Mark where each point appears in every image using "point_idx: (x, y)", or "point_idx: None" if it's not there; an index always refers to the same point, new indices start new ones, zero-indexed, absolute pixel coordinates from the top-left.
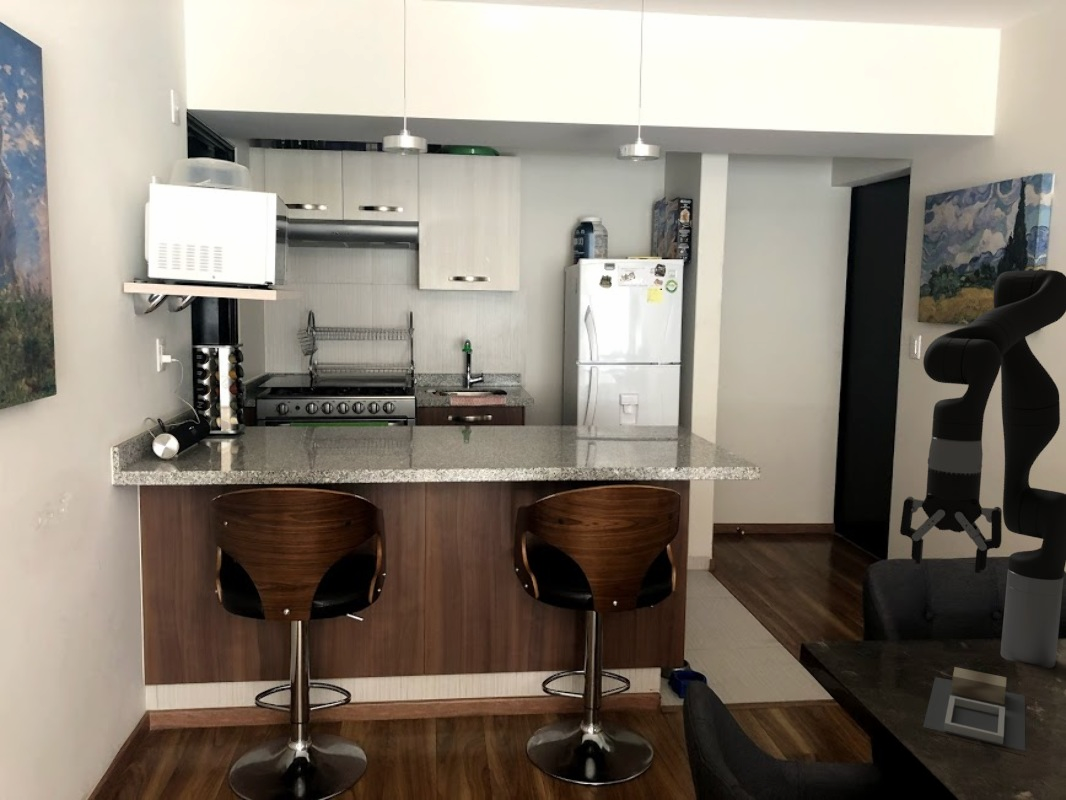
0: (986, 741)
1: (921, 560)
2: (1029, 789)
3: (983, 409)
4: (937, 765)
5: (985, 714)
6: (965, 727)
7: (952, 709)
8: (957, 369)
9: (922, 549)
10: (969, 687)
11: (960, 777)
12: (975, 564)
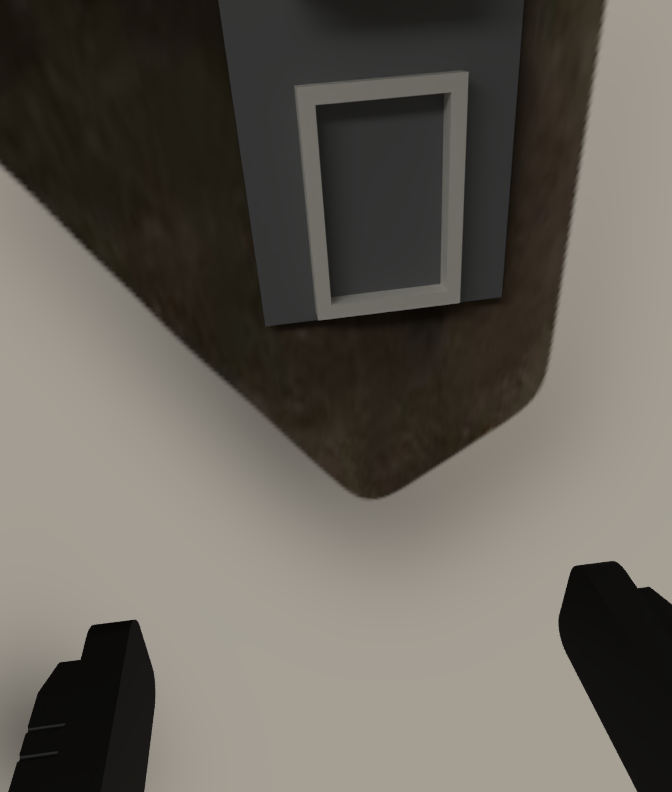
0: None
1: (138, 646)
2: (494, 423)
3: None
4: (326, 444)
5: (406, 117)
6: (369, 310)
7: (322, 211)
8: None
9: (115, 736)
10: None
11: (373, 460)
12: (590, 699)
